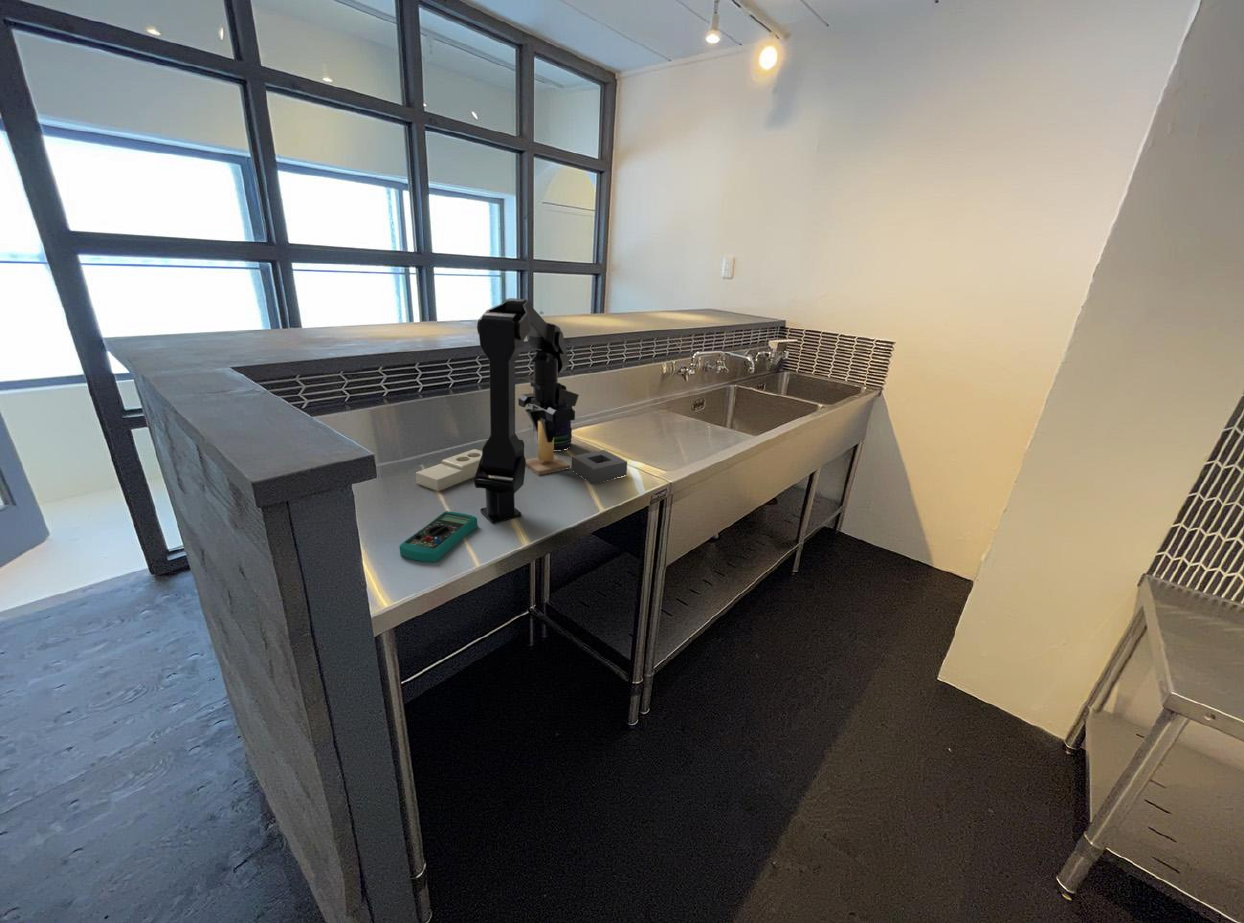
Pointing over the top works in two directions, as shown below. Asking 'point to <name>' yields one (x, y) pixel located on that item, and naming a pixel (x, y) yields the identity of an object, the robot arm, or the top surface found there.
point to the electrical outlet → (450, 471)
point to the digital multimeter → (438, 536)
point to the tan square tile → (546, 465)
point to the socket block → (598, 466)
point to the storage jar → (563, 434)
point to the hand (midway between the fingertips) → (545, 439)
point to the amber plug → (544, 445)
